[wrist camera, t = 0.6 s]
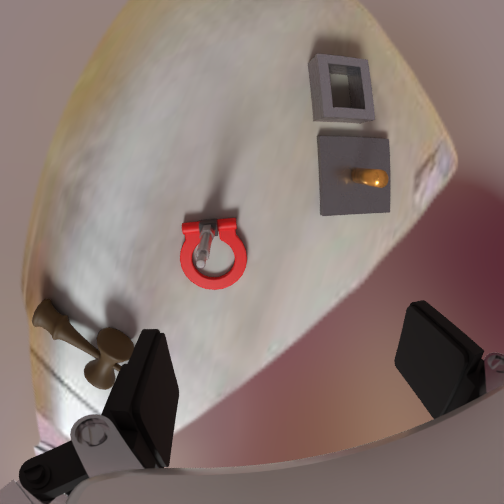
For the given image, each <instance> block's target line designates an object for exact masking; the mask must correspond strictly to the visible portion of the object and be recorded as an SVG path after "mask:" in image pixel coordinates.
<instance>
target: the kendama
mask: <svg viewBox="0 0 504 504" xmlns="http://www.w3.org/2000/svg"><path fill="white" fill-rule="evenodd" d="M32 323H33V325H34V326H35V327H38V326H40V327H43V328H44V329H46V330H47V331H48V332H49V333H50V334H51V335H52V338H53V340H56V339H60V340H63V341H65V342H67V343H69V344H71V345H73V346H75V347H77V348H79V349H81V350H83V351H84V352H86V353H88V354H90V355H92V356H93V357H95V358H97V359H95V360H92V361H90V362H89V363H88V364H87V365H86V366H85V369H84V375H85V378H86V379H87V381H88V382H89V383H91V384H92V385H93V386H95V387H97V388H99V389H104V390H106V389H109V388H111V387H112V386H113V384H114V382H115V373H114V369H116V370H117V371H120V369H121V367H122V366H120V365H119V364H117V363H120V362H124V361H127V360H129V359H130V357H131V355H132V352H133V350H134V345H133V342H132V341H131V340H130V338H129V337H128V336H126V335H125V334H124V333H123V332H121V331H119V330H117V329H114V328H110V327H108V328H103V329H102V330H101V331H100V332H99V333H98V336H97V345H98V348H99V350H98V349H97V348H95V347H94V346H93V345H92V344H90V343H89V342H88V341H87V340H86V339H85V338H84V337H83V336H82V335H81V334H80V333H78V332H77V331H76V329H75V328H74V327H73V326H72V325H71V324H70V322H69V319H68V316H67V315H62V314H60V313H59V312H58V311H57V310H56V309H55V308H54V307H53V305H52V302H51V300H50V299H45V300H43V301H42V302H41V303H40V304H39V305H38V307H37V309H36V310H35V312H34V315H33V319H32ZM113 368H114V369H113Z"/></svg>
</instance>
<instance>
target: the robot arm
mask: <svg viewBox="0 0 504 504" xmlns="http://www.w3.org/2000/svg"><path fill="white" fill-rule="evenodd" d="M483 353H484V350H483V349H482V348H481V347H479V346H478V345H477V344H476V343H475V342H474V341H473V340H471V339H470V338H469V337H468V336H467V335H466V334H465V333H463V332H462V331H461V330H460V329H459V328H457V327H456V326H455V325H454V324H453V323H452V322H450V321H449V320H448V319H447V318H446V317H444V316H443V315H442V314H441V313H439V312H438V311H437V310H436V309H435V308H433V307H432V306H431V305H430V304H428V303H427V302H426V301H424V300H423V301H417V302H412V303H411V304H410V306H409V307H408V308H407V310H406V315H405V319H404V324H403V329H402V333H401V337H400V341H399V345H398V349H397V352H396V356H395V366H396V368H397V369H398V370H399V372H400V373H401V374H402V376H403V377H404V378H405V380H406V381H407V382H408V384H409V385H410V387H411V388H412V389H413V391H414V392H415V393H416V395H417V396H418V398H419V399H420V400H421V402H422V403H423V405H424V406H425V407H426V409H427V410H428V412H429V413H430V414H431V416H432V417H433V418H434V420H431V421H429V422H427V423H424V424H422V425H419V426H417V427H414V428H412V429H410V430H407V431H404V432H401V433H398V434H395V435H393V436H390V437H387V438H384V439H381V440H378V441H374V442H371V443H368V444H364V445H361V446H357V447H353V448H350V449H346V450H342V451H338V452H334V453H330V454H324V455H320V456H315V457H310V458H305V459H299V460H293V461H286V462H280V463H271V464H263V465H252V466H239V467H224V468H164V467H168V466H169V463H170V455H171V447H172V439H173V432H174V425H175V418H176V412H177V405H178V399H179V388H178V384H177V380H176V377H175V373H174V369H173V365H172V361H171V357H170V353H169V349H168V345H167V341H166V337H165V334H164V333H160V331H159V330H158V329H143V330H142V332H141V334H140V336H139V338H138V341H137V343H136V345H135V348H134V350H133V352H132V355H131V357H130V359H129V362H128V364H124V365H122V367H121V369H120V371H119V373H118V376H117V378H116V380H115V383H114V385H113V387H112V390H111V392H110V395H109V397H108V399H107V402H106V404H105V407H104V409H103V412H102V414H101V415H98V414H96V415H88V416H84V417H82V418H81V419H79V420H78V421H77V422H76V423H75V424H74V425H73V427H72V429H71V434H70V436H71V441H69V442H67V443H65V444H62V445H60V446H58V447H56V448H54V449H52V450H49V451H47V452H45V453H43V454H40V455H38V456H36V457H33V458H31V459H29V460H27V461H26V462H25V463H24V464H23V465H22V466H21V469H20V471H19V481H17V482H15V481H14V480H12V481H11V482H10V483H9V484H7V485H6V486H5V487H4V488H2V489H1V490H0V504H504V355H503V354H500V353H490V354H488V355H487V356H486V357H485V359H484V360H482V359H481V358H482V355H483Z"/></svg>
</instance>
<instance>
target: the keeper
mask: <svg viewBox="0 0 504 504" xmlns="http://www.w3.org/2000/svg"><path fill="white" fill-rule="evenodd" d="M317 145H318V162H319V185H320V215H322V216H331V215H348V214H366V213H386V212H390V152H389V139H381V138H365V137H344V136H318V137H317Z"/></svg>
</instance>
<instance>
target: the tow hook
mask: <svg viewBox="0 0 504 504" xmlns="http://www.w3.org/2000/svg"><path fill="white" fill-rule="evenodd" d="M235 229H237V226H236V218H227V219H209V220H201V221H197V222H188V223H182V232H183V234H185V239H186V240H185V242H184V244H183V246H182V249H181V252H180V262H181V267H182V269H183V271H184V273H185V275H186V276H187V277H188V278H189V280H190V281H191V282H193V283H194V284H196V285H197V286H200V287H202V288H205V289H213V290H216V289H223V288H226V287H228V286H231V285H232V284H234V283H235V282H236V281H238V279H239V278H240V277H241V276H242V275H243V272H244V270H245V268H246V263H247V255H246V249H245V247H244V244H243V242H242V241H241V239H240V238H239V237H238V236H237V235H236V230H235ZM218 231H219V236H220V239H221V241H224V242H225V243H227V244H228V245H229V246H230V247H231V248H232V250H233V252H234V255H235V261H234V265H233V267H232V268H231V270H230V271H229V272H228V273H226V274H225V275H223V276H220V277H208V276H205V275H203V274H201V273H200V272H199V271H198V270H197V269H196V268H195V266H194V264H193V260H192V254H193V251H194V249H195V247H196V246H197V245H198V244H199V246H198V249H197V252H196V257H197V261H196V266H197V267H198V268H203V267H204V266H205V263H206V260H207V259H208V258H209V254H210V248H211V242H212V240H213V238H214V236H218Z"/></svg>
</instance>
